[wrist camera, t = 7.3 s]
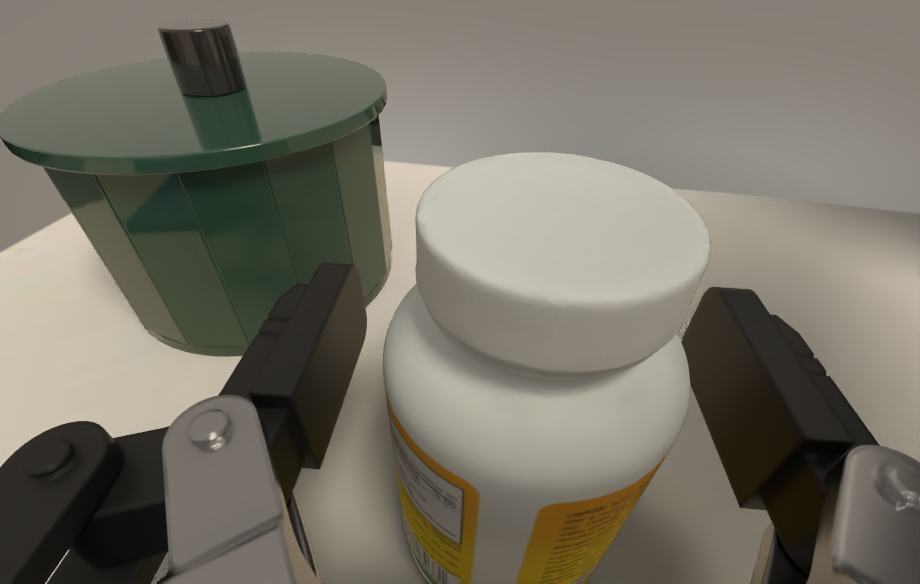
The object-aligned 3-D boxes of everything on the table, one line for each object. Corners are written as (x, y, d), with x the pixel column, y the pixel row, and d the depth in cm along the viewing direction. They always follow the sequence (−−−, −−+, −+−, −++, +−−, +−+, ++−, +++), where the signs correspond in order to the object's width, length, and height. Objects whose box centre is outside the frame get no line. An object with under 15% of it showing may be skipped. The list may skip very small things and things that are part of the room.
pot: (314, 190, 27) (284, 54, 22) (439, 269, 21) (435, 106, 16) (104, 266, 21) (-1, 100, 16) (196, 408, 15) (72, 211, 10)
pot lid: (291, 64, 23) (276, -7, 21) (454, 122, 16) (455, 27, 14) (-9, 117, 16) (-73, 20, 14) (66, 251, 10) (-33, 106, 8)
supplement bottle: (375, 593, 11) (273, 293, 5) (436, 412, 15) (425, 123, 9) (601, 661, 10) (858, 399, 4) (600, 448, 14) (721, 152, 8)
